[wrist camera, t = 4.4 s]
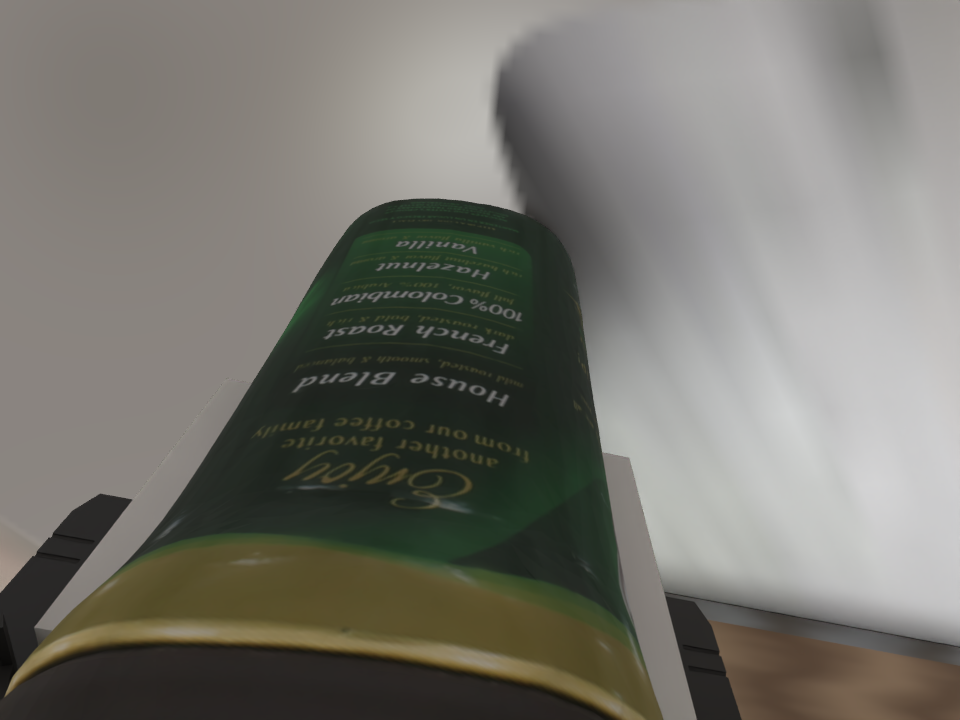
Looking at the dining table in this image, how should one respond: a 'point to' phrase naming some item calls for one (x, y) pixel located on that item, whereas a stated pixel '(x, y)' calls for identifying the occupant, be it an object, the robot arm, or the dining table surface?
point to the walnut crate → (830, 669)
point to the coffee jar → (382, 512)
